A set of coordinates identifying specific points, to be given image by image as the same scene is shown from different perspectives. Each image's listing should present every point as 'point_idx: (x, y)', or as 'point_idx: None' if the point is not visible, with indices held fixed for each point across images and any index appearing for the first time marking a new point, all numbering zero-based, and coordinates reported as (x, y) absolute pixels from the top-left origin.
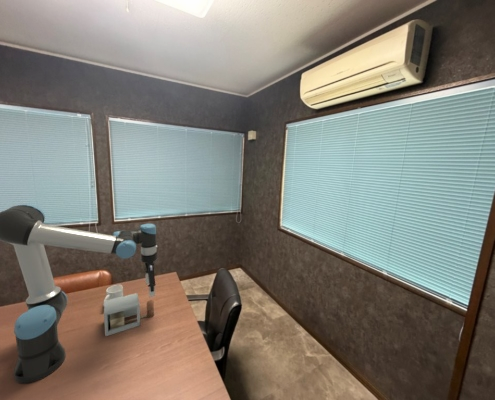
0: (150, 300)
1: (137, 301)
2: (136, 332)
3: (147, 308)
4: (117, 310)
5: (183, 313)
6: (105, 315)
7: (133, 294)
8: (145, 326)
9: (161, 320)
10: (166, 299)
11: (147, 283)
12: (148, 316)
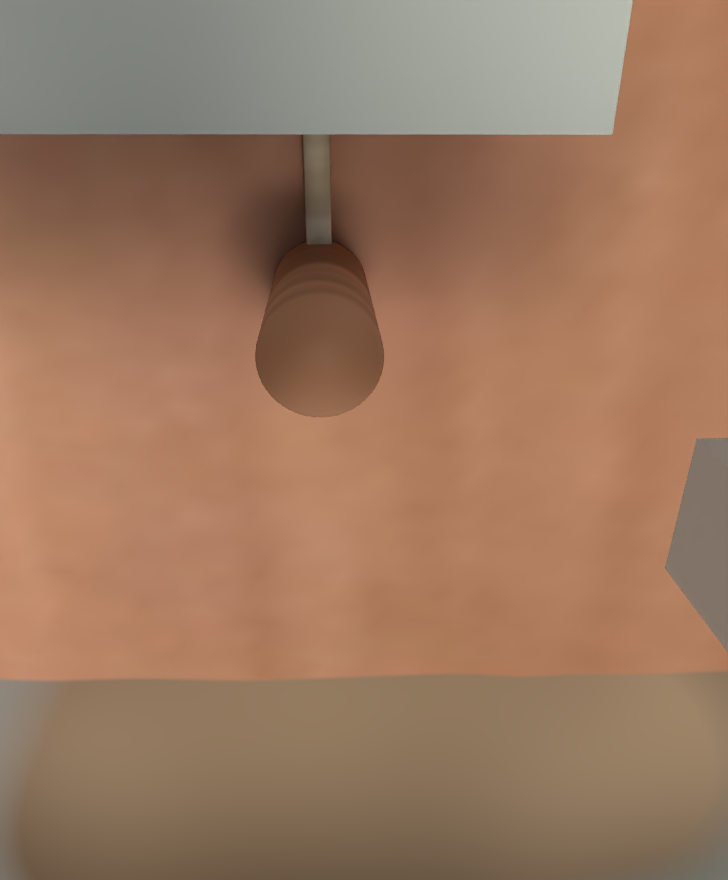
0: (378, 370)
1: (148, 93)
2: None
3: (291, 279)
4: None
5: (185, 626)
6: None
7: (594, 9)
8: (100, 191)
9: (151, 400)
10: (559, 515)
11: (699, 491)
12: (282, 258)
